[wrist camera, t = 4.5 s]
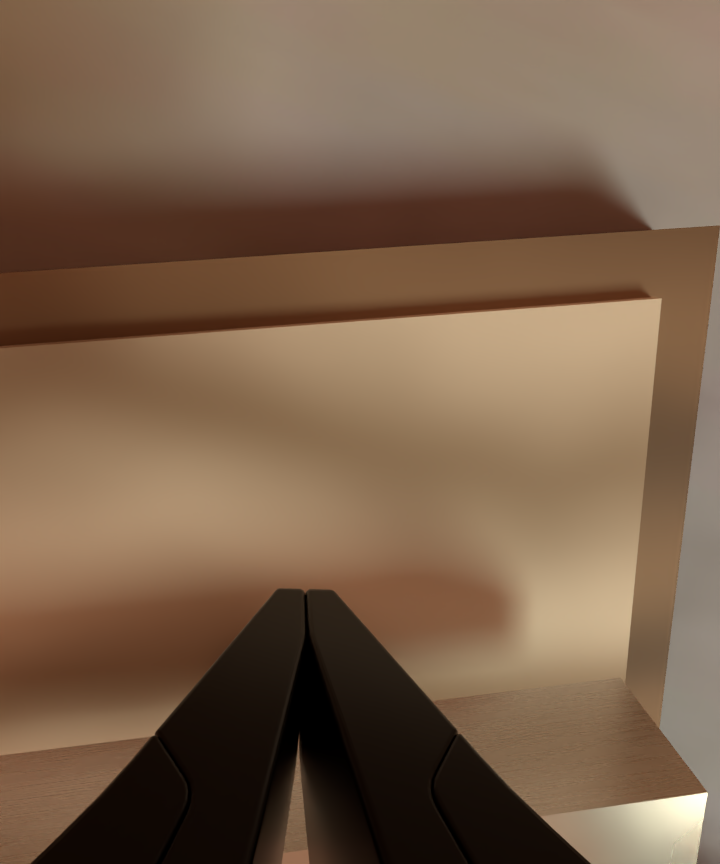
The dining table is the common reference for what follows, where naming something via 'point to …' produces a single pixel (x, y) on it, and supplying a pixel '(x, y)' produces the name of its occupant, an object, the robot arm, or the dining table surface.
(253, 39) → the dining table surface
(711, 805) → the dining table surface
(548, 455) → the brown square tray
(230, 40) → the dining table surface
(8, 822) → the T-key
